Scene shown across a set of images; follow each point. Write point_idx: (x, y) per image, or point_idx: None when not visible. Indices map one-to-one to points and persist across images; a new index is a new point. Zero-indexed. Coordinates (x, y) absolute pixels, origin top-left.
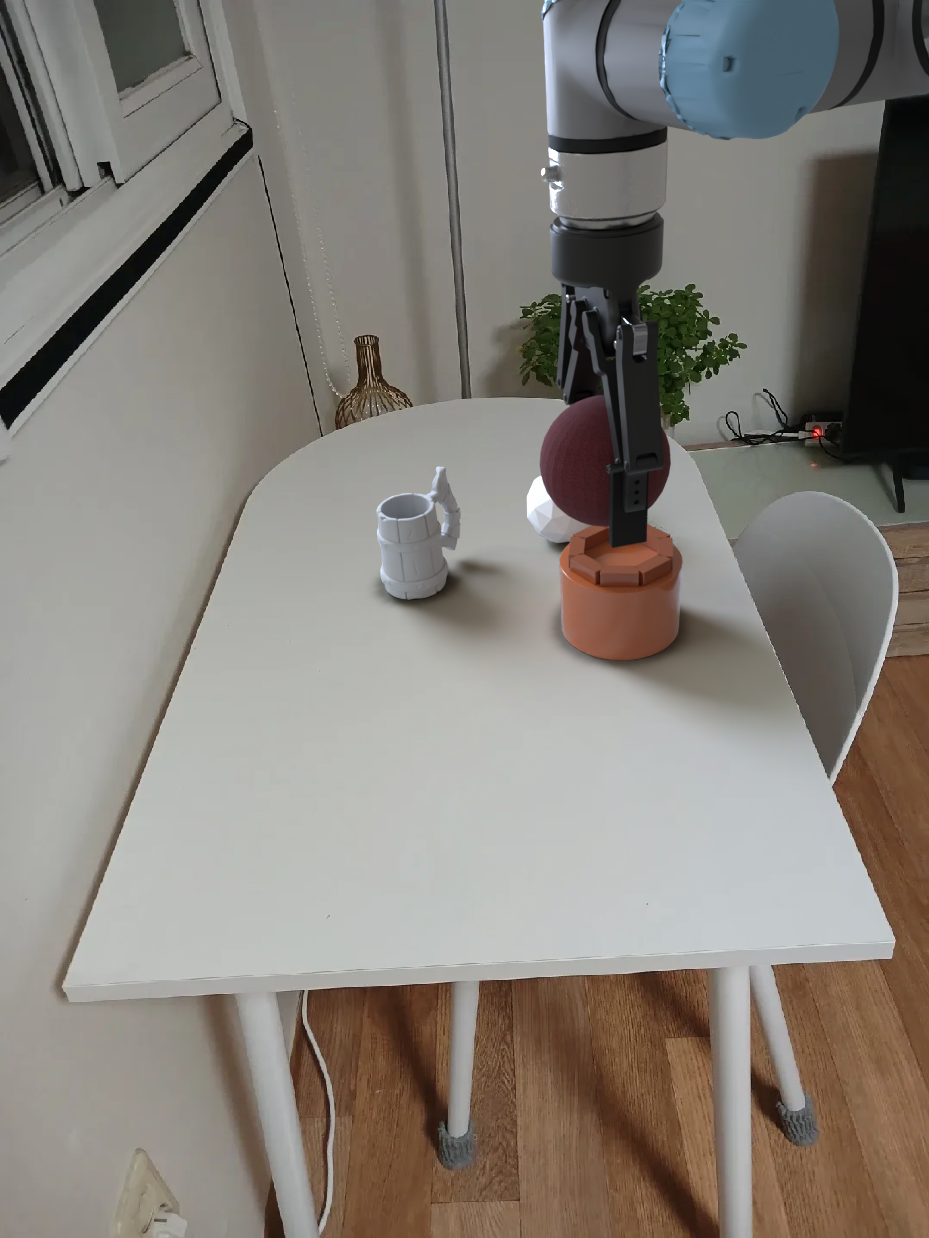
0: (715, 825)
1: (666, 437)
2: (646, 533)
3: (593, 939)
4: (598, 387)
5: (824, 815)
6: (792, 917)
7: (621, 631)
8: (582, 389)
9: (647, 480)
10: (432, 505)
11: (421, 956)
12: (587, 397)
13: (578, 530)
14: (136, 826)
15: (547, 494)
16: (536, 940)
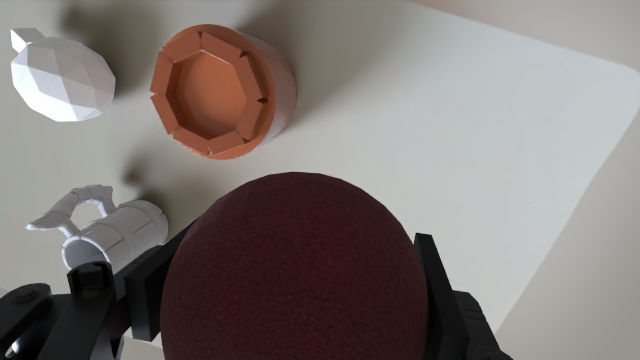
0: (498, 132)
1: (343, 226)
2: (433, 242)
3: (539, 247)
4: (104, 321)
5: (536, 46)
6: (603, 126)
7: (285, 116)
8: (110, 356)
9: (458, 308)
10: (88, 240)
11: (496, 327)
12: (113, 313)
13: (109, 79)
14: None
15: (64, 108)
16: (521, 274)
